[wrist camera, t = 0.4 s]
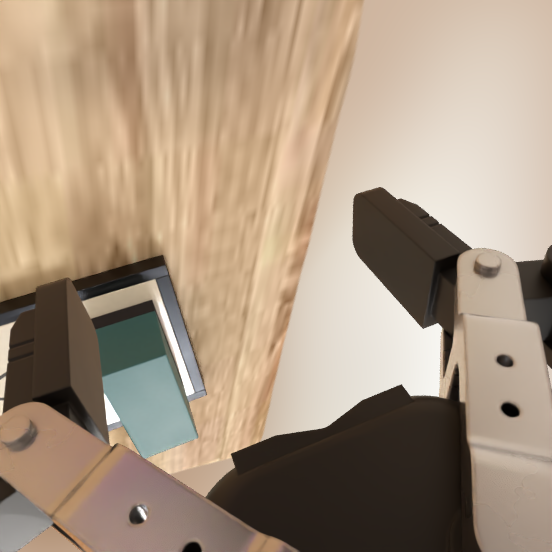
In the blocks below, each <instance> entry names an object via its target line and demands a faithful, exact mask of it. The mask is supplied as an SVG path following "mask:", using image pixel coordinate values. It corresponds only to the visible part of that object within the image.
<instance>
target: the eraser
mask: <svg viewBox="0 0 552 552" xmlns="http://www.w3.org/2000/svg"><path fill="white" fill-rule="evenodd" d="M91 320H92V323H93V325H94V328H95V331H96V334H97V338H98V344H99V353H100V362H101V371H102V380H103V389H104V394H105V396H106V397H107V399H108V401H109V403H110V404H111V406H112V408H113V409H114V411H115V413H116V414H117V416H118V418H119V420H120V421H121V423H122V425H123V426H124V428H125V430H126V431H127V433H128V435H129V437H130V438H131V440H132V442H133V443H134V445H135V447H136V448H137V450H138V452H139V454H140V455H141V457H143V458H144V459H145V458H148V457H151V456H153V455H156V454H158V453H161V452H163V451H166V450H168V449H171V448H174V447H176V446H179V445H181V444H184V443H186V442H189V441H191V440H194V439H197V438H198V434H197V430H196V427H195V423H194V419H193V416H192V412H191V409H190V405H189V402H188V398H187V395H186V391H185V388H184V384H183V382H182V379H181V376H180V373H179V371H178V368H177V365H176V363H175V360H174V357H173V355H172V352H171V349H170V346H169V344H168V341H167V338H166V336H165V333H164V330H163V328H162V325H161V322H160V320H159V317H158V314H157V311H156V309H155V306H154V303H153V301H152V300H149V301H146V302H143V303H140V304H137V305H133V306H130V307H127V308H124V309H121V310H117V311H114V312H111V313H108V314H105V315H102V316H98V317H95V318H92V319H91Z"/></svg>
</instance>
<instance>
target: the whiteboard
mask: <svg viewBox="0 0 552 552" xmlns="http://www.w3.org/2000/svg"><path fill="white" fill-rule="evenodd" d="M72 283H73V285H74V287H75V289H76V291H77V293H78V295H79V297H80V299H81V301H82V303H83V305H84V307H85V308H86V310H87V312H88V314H89V316H90V318H91V319H92V318H95V317H98V316H102V315H105V314H108V313H111V312H114V311H117V310H121V309H124V308H127V307H130V306H133V305H137V304H140V303H143V302H146V301H149V300H152V301H153V303H154V306H155V309H156V311H157V314H158V317H159V320H160V322H161V325H162V328H163V330H164V333H165V336H166V338H167V341H168V344H169V346H170V349H171V352H172V355H173V357H174V360H175V363H176V365H177V368H178V371H179V373H180V376H181V379H182V382H183V384H184V388H185V391H186V395H187V398H188V402H189V401H192V400H195V399H198V398H200V397H203V396H206V395H207V393H206V390H205V386H204V383H203V380H202V377H201V374H200V371H199V368H198V364H197V361H196V358H195V355H194V352H193V349H192V346H191V342H190V339H189V336H188V333H187V330H186V327H185V324H184V321H183V317H182V314H181V311H180V308H179V305H178V302H177V299H176V295H175V292H174V289H173V286H172V283H171V280H170V277H169V273H168V270H167V267H166V264H165V261H164V258H163V256H158V257H155V258H151V259H148V260H145V261H141V262H138V263H134V264H131V265H127V266H124V267H121V268H117V269H114V270H110V271H107V272H104V273H100V274H97V275H93V276H90V277H86V278H83V279H80V280H76V281H73V282H72ZM35 301H36V292H35V293H32V294H28V295H25V296H22V297H18V298H15V299H11V300H8V301H5V302H1V303H0V416H1V415H2V413H3V402H4V392H5V381H6V371H7V363H9V362H8V350H9V349H10V348H9V340H10V330H11V328H12V327H13V325H14V323H15V322H16V320H17V318H18V317H19V315H20V313H22V312H25V311H28V310H31V309H35ZM104 398H105V408H106V417H107V426H108V432H109V431H111V430H114V429H117V428H119V427H122V426H123V425H122V423H121V421H120V420H119V418H118V416H117V414H116V413H115V411H114V409H113V408H112V406H111V404H110V403H109V401H108V399H107V397H106V396H105V394H104Z"/></svg>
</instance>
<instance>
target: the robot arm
mask: <svg viewBox="0 0 552 552" xmlns="http://www.w3.org/2000/svg"><path fill="white" fill-rule="evenodd" d="M353 203H354V204H353V245H354V248H355V250H356V253H357V255H358V256H359V257H360V259H361V260H362V261H363V262H364V263H365V264H366V265H367V267H368V268H369V269H370V270H371V271H372V272H373V273H374V274H375V276H376V277H377V278H378V279H379V280H380V281H381V282H382V283H383V285H384V286H385V287H386V288H387V289H388V290H389V291H390V292H391V293H392V295H393V296H394V297H395V298H396V299H397V300H398V301H399V302H400V304H402V306H403V307H404V308H405V309H406V310H407V311H408V312H409V314H410V315H411V316H412V317H413V318H414V319H415V320H416V322H417V323H418V324H419V325H420V326H421V327H422V328H423V329H424V328H426V327H429V326H431V325H434V324H436V323H439V324H440V325H441V326H442V332H441V352H440V391H439V397H435V396H410V395H409V394H408V392H407V391H406V390H405V388H404V387H403V386H402V385H399V386H396V387H394V388H391V389H389V390H387V391H384V392H382V393H379V394H377V395H374V396H372V397H369V398H367V399H364V400H362V401H361V402H360V403H358V404H357V405H356V406H354V407H353V408H352V409H350V410H349V411H348V412H346V413H345V414H344V415H342V416H341V417H340V418H338V419H337V420H336V421H335V422H333V423H332V424H331V425H329V426H328V427H326V428H322V429H317V430H310V431H303V432H296V433H290V434H283V435H277V436H274V437H271V438H269V439H266V440H264V441H261V442H259V443H256V444H254V445H251V446H249V447H247V448H244V449H242V450H239V451H237V452H234V453H232V454H231V455H232V459H233V462H234V465H235V468H234V469H232V470H231V471H230V472H228V473H227V474H226V475H225V476H224V477H223V478H222V479H221V480H219V482H217V483H216V485H215V486H214V487H213V488H212V489H211V491H210V492H209V493H208V495H207V496H206V498H205V497H204V496H202V495H200V494H199V493H197V492H196V491H194V490H193V489H191V488H190V487H188V486H186V485H185V484H183V483H182V482H180V481H179V480H177V479H175V478H174V477H172V476H171V475H169V474H168V473H166V472H165V471H163V470H162V469H160V468H158V467H157V466H155V465H154V464H152V463H151V462H149V461H148V460H146V459H144V458H143V457H141V456H140V455H138V454H137V453H135V452H134V451H132V450H130V449H129V448H127V447H125V446H123V445H121V444H118V443H117V444H115V445H114V446H113V447H112V446H110V444H109V435H108V426H107V417H106V408H105V398H104V389H103V380H102V371H101V362H100V353H99V344H98V338H97V334H96V331H95V328H94V325H93V323H92V320H91V318H90V316H89V314H88V312H87V310H86V308H85V307H84V305H83V303H82V301H81V299H80V297H79V295H78V293H77V291H76V289H75V287H74V285H73V283H72V282H71V280H70V279H69V278H65V279H62V280H58V281H55V282H51V283H48V284H45V285H41V286H38V287H37V288H36V301H35V309H31V310H28V311H25V312H22V313H20V315H19V317H18V318H17V320H16V322H15V323H14V325H13V327H12V328H11V330H10V340H9V348H10V349H9V350H8V362H9V363H7V371H6V381H5V392H4V402H3V413H2V415H1V416H0V552H17V551H18V550H20V549H21V548H22V547H24V546H25V545H26V544H28V543H29V542H30V541H31V540H33V539H34V538H35V537H37V536H38V535H40V534H41V533H42V532H44V531H45V530H46V529H48V528H49V527H50V526H52V527H53V528H54V529H55V530H57V531H58V532H59V533H60V534H61V535H63V536H64V537H65V538H66V539H67V540H68V541H70V542H71V543H72V544H73V545H74V546H75V547H77V548H78V549H79V550H80V551H81V552H552V389H551V383H550V378H549V374H548V368H547V365H548V366H550V368H551V369H552V245H551V246H550V247H549V248H548V250H547V253H546V255H545V258H544V260H536V261H524V262H515V261H514V260H513V259H512V258H510V257H509V256H508V255H506V254H504V253H502V252H499V251H496V250H492V249H486V248H477V249H472V248H471V247H469V246H468V245H467V244H465V243H464V242H463V241H462V240H461V239H459V238H458V237H457V236H456V235H454V234H453V233H452V232H450V231H449V230H448V229H447V228H446V227H444V226H443V225H442V224H439V222H438V221H437V220H436V219H434V218H433V217H432V216H431V217H430V216H429V214H428V213H427V212H426V211H424V210H423V209H422V208H421V207H419V206H418V205H416V204H414V203H411V202H408V201H406V200H403V199H398V200H397V199H396V198H395V197H393V196H392V195H391V194H390V193H389V192H387V191H386V190H385V189H384V188H381V187H379V188H375V189H372V190H368V191H365V192H362V193H358V194H356V195H355V197H354V202H353Z"/></svg>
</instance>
